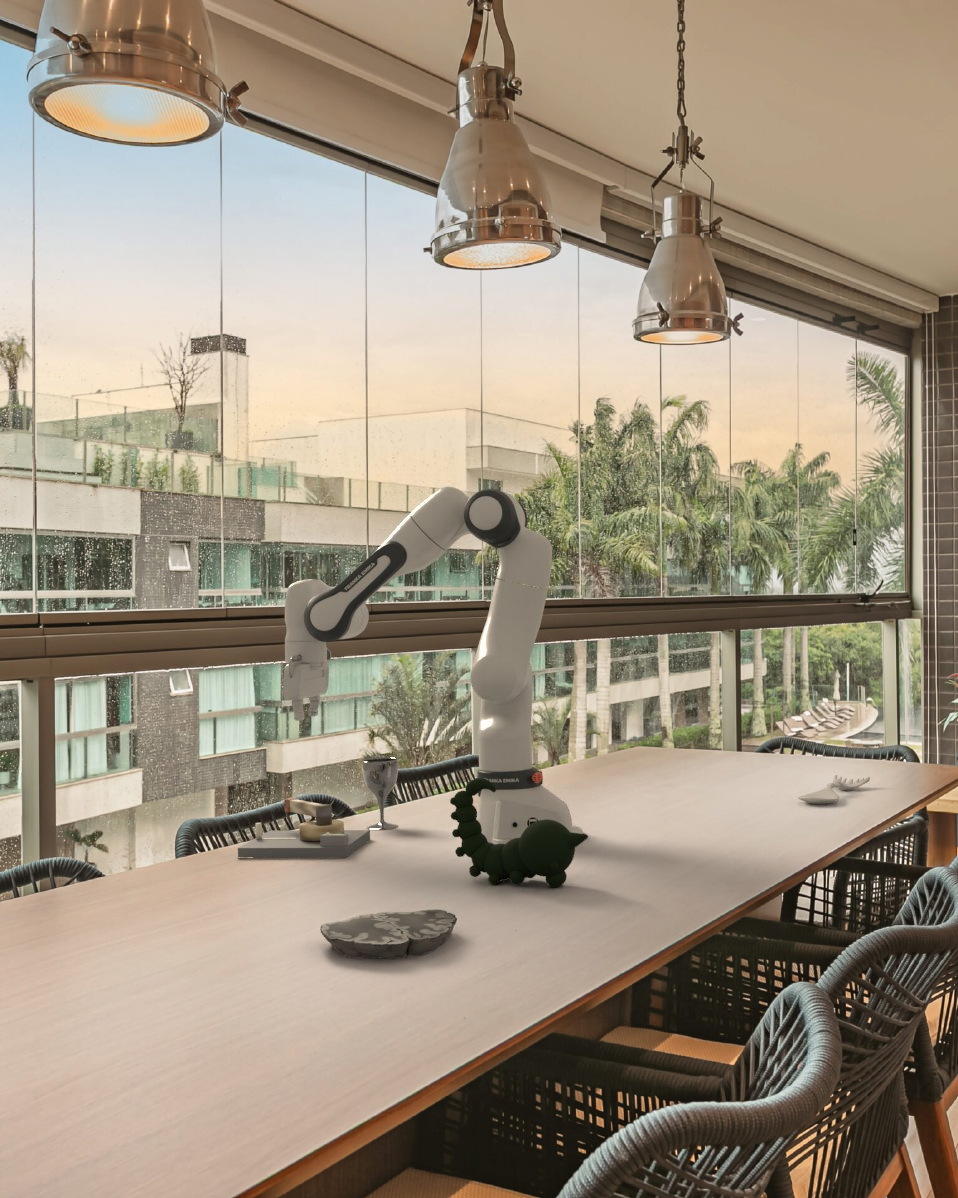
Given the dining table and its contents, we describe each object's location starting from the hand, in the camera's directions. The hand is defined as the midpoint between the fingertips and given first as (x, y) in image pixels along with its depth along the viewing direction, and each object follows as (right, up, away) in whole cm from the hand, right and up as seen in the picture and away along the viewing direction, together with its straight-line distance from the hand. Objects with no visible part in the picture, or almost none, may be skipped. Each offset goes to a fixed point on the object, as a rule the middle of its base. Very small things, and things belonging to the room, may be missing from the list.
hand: (306, 718), depth 244 cm
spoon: (+122, -22, +24) cm, 126 cm away
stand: (+2, -25, -15) cm, 29 cm away
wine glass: (+16, -25, +6) cm, 30 cm away
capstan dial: (+3, -23, -11) cm, 26 cm away
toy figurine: (+45, -23, -51) cm, 72 cm away
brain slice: (+25, -23, -86) cm, 92 cm away
